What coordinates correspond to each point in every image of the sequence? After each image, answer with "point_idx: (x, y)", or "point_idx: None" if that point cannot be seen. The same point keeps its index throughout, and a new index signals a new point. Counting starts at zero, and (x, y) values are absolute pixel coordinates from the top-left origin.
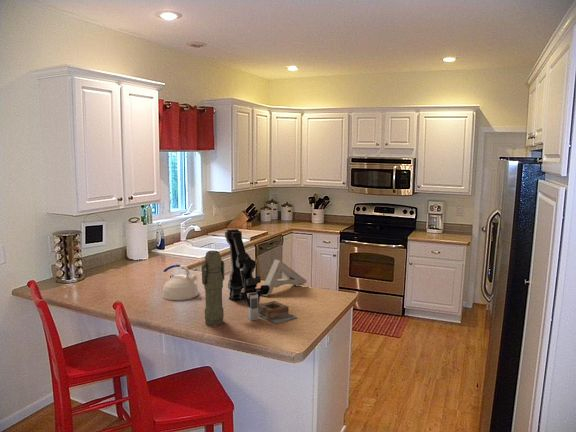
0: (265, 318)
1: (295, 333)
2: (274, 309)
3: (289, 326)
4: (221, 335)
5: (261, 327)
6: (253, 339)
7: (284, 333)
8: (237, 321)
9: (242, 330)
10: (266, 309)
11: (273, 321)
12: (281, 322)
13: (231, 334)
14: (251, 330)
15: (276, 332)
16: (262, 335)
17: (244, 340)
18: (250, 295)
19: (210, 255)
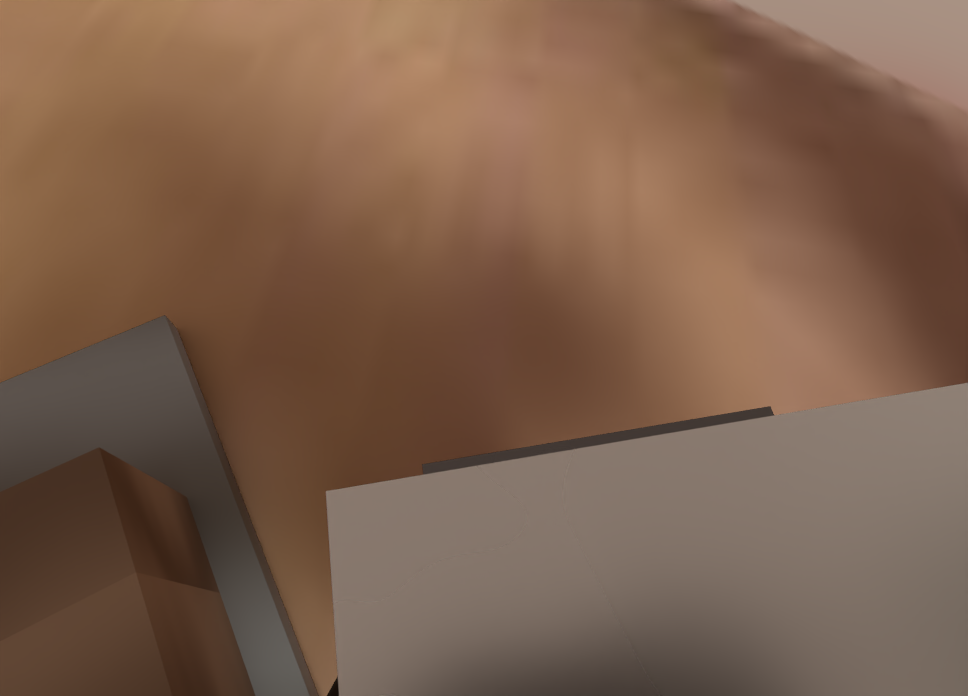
0: (278, 606)
1: (69, 43)
2: None
3: (20, 228)
4: (955, 140)
5: (435, 267)
6: (573, 6)
7: (195, 63)
8: None
9: (711, 222)
10: (160, 647)
11: (188, 381)
12: (60, 371)
13: (837, 143)
14: (587, 202)
15: (278, 100)
16: (464, 63)
17: (668, 4)
18: None
19: None
